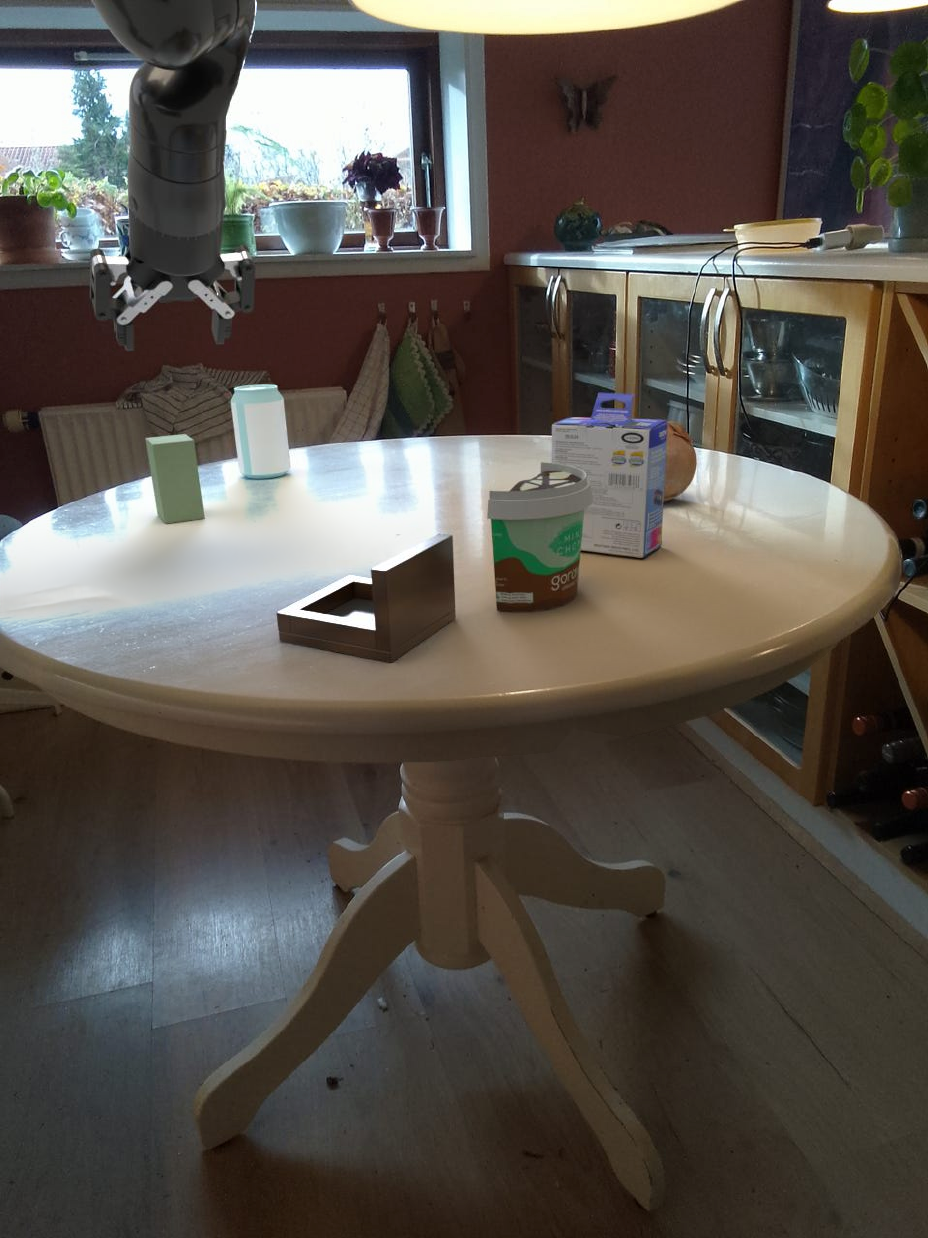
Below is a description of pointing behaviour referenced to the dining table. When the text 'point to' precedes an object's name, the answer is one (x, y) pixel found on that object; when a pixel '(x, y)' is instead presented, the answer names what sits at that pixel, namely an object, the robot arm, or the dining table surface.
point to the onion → (678, 461)
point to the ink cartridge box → (617, 475)
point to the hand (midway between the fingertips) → (173, 340)
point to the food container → (539, 538)
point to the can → (260, 431)
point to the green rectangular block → (175, 478)
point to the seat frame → (379, 606)
